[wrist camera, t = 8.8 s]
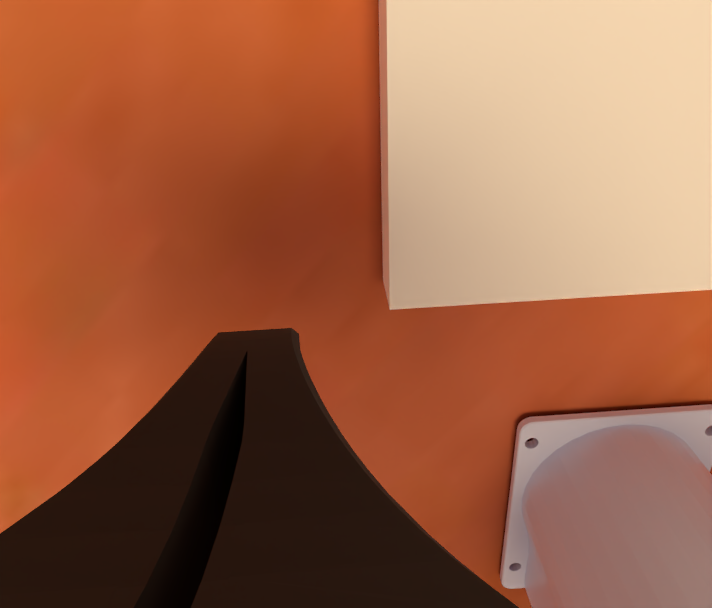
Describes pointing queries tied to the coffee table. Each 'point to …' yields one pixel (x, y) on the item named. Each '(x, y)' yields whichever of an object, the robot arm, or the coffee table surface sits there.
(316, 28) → the coffee table surface
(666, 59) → the cream flat square slab
